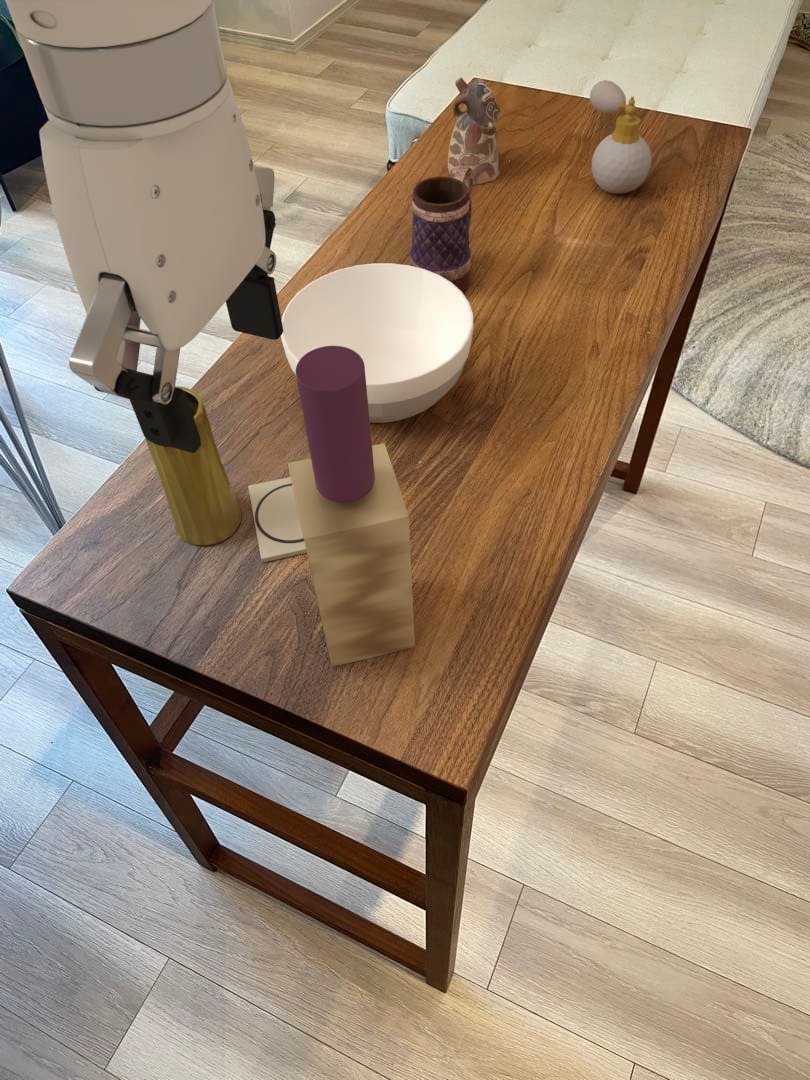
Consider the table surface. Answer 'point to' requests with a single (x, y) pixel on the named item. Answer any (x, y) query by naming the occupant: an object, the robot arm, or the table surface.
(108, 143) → the robot arm
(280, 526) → the sketch card
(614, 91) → the perfume bottle
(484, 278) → the table surface
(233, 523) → the vase
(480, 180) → the figurine
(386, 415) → the bowl
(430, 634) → the table surface
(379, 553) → the stand
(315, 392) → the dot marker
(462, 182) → the mug
